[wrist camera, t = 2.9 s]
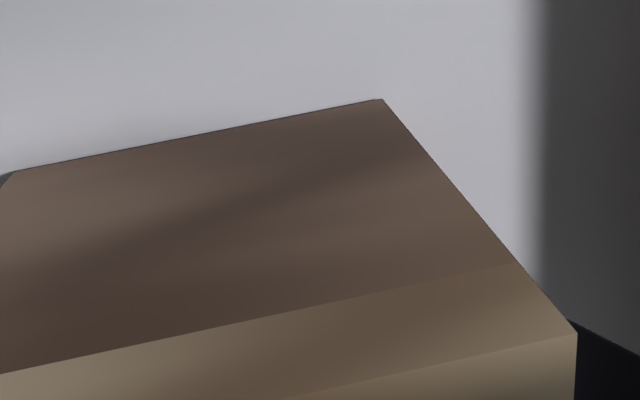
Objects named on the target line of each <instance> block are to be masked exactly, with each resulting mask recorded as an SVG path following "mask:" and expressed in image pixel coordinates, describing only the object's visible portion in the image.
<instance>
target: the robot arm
mask: <svg viewBox="0 0 640 400" xmlns="http://www.w3.org/2000/svg"><path fill="white" fill-rule="evenodd" d="M565 319H566V318H565ZM566 320H567V321H568V322H569V323H570V325H571V326H572V327H573V328H574V329H575V331H576V332H577V333H578V334H577V351H576V368H575V385H574V400H640V356H639V355H637V354H635V353H633V352H631V351H629V350H627V349H625V348H623V347H621V346H619V345H617V344H615V343H613V342H611V341H609V340H607V339H605V338H604V337H602V336H600V335H598V334H596V333H594V332H592V331H590V330H588V329H586V328H584V327H582V326H580V325H578V324H576V323H574V322H572V321H570V320H568V319H566Z"/></svg>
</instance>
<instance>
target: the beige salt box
mask: <svg viewBox="0 0 640 400" xmlns="http://www.w3.org/2000/svg"><path fill="white" fill-rule="evenodd" d="M577 334H578V333H577V332H576V331H575V329H574V328H573V327H572V326H571V325H570V323H569V322H568V321H567V320H566V319H565V317H564V316H563V315H562V314H561V313H560V311H559V310H558V309H557V308H556V307H555V305H554V304H553V303H552V302H551V301H550V299H549V298H548V297H547V296H546V295H545V293H544V292H543V291H542V290H541V289H540V287H539V286H538V285H537V284H536V283H535V281H534V280H533V279H532V278H531V277H530V275H529V274H528V273H527V272H526V271H525V269H524V268H523V267H522V266H521V265H520V263H519V262H518V261H517V260H516V259H515V257H514V256H513V255H512V254H511V253H510V251H509V250H508V249H507V248H506V247H505V245H504V244H503V243H502V242H501V241H500V239H499V238H498V237H497V236H496V235H495V233H494V232H493V231H492V230H491V229H490V227H489V226H488V225H487V224H486V223H485V221H484V220H483V219H482V218H481V217H480V215H479V214H478V213H477V212H476V211H475V209H474V208H473V207H472V206H471V205H470V203H469V202H468V201H467V200H466V199H465V197H464V196H463V195H462V194H461V193H460V191H459V190H458V189H457V188H456V187H455V185H454V184H453V183H452V182H451V181H450V179H449V178H448V177H447V176H446V175H445V173H444V172H443V171H442V170H441V169H440V168H439V166H438V165H437V164H436V163H435V162H434V160H433V159H432V158H431V157H430V156H429V154H428V153H427V152H426V151H425V150H424V148H423V147H422V146H421V145H420V144H419V142H418V141H417V140H416V139H415V138H414V136H413V135H412V134H411V133H410V132H409V130H408V129H407V128H406V127H405V126H404V124H403V123H402V122H401V121H400V120H399V118H398V117H397V116H396V115H395V114H394V112H393V111H392V110H391V109H390V108H389V106H388V105H387V104H386V103H385V102H384V100H383V99H377V100H372V101H367V102H362V103H357V104H352V105H347V106H342V107H337V108H332V109H327V110H322V111H317V112H312V113H307V114H302V115H297V116H292V117H287V118H282V119H277V120H272V121H267V122H262V123H257V124H252V125H247V126H242V127H237V128H232V129H227V130H222V131H217V132H212V133H207V134H201V135H196V136H191V137H186V138H181V139H176V140H171V141H166V142H161V143H156V144H151V145H146V146H141V147H136V148H131V149H126V150H121V151H116V152H111V153H106V154H101V155H96V156H91V157H86V158H81V159H76V160H71V161H66V162H61V163H56V164H51V165H46V166H41V167H36V168H31V169H26V170H21V171H16V172H13V174H12V175H11V176H10V177H9V178H8V179H7V181H6V182H5V183H4V184H3V185H2V187H1V188H0V400H574V385H575V368H576V351H577Z"/></svg>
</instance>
